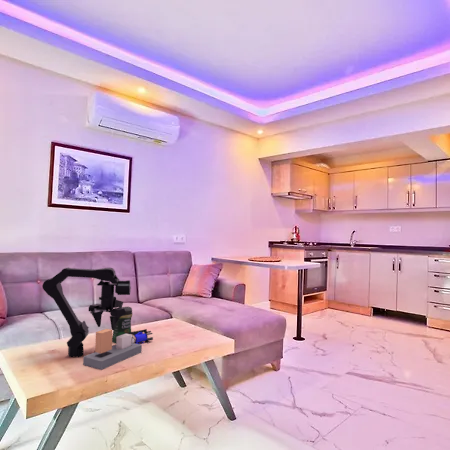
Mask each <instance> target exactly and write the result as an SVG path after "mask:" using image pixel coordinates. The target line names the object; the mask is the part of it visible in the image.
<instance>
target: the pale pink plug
mask: <svg viewBox="0 0 450 450" xmlns="http://www.w3.org/2000/svg"><path fill="white" fill-rule="evenodd" d="M115 345H116V348H117V349H121V350H122V349H125V348H127V347H130V346H131V334H123V335H120V336H117V337H116V344H115Z"/></svg>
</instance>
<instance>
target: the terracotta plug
mask: <svg viewBox="0 0 450 450" xmlns="http://www.w3.org/2000/svg"><path fill="white" fill-rule="evenodd" d="M112 336H113V330H112V329H109V328H103V329H102V330H99V331H96V332H95V343H94V344H95V346H94V347H95V351H94V352H97V353H104V352H106V351H109V350H112V346H113V342H112Z"/></svg>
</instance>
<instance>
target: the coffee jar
mask: <svg viewBox="0 0 450 450" xmlns="http://www.w3.org/2000/svg"><path fill="white" fill-rule="evenodd" d="M122 308H124V309H125V310H126V314H125V315H123V316H121V317H120V318H119V320H118V322H117V324H116V327H115V329H114V330H112V344H113V343H114V345H116V337H117V336H120V335H123V334H126V333H128V332H132V317H133V308H132V307H130V306H122Z"/></svg>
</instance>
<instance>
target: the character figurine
mask: <svg viewBox="0 0 450 450" xmlns="http://www.w3.org/2000/svg"><path fill="white" fill-rule="evenodd" d="M126 334H131V343H135V344H140V343H141V344H140V345H142V344H145V343H148V342H149V341H153V340H154V337H152V336H150V337H148V336H149V335H153V334H154V333H153V332H152V331H151V330H147V328H144V329H141V330H134V331H131V332H128V333H126Z"/></svg>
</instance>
